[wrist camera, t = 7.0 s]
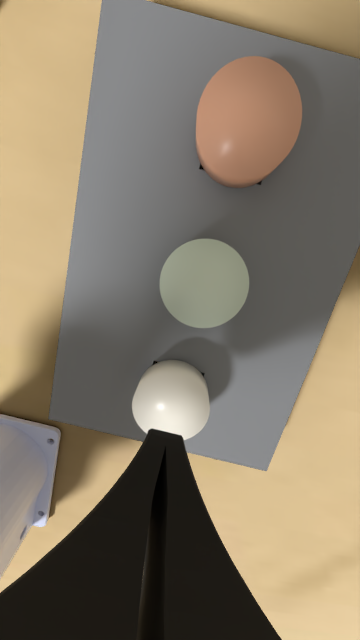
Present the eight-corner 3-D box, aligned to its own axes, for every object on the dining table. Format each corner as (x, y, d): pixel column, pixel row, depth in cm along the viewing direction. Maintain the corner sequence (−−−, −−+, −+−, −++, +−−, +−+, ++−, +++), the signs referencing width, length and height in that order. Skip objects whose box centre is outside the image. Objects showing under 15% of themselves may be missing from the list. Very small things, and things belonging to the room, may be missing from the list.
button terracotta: (258, 205, 14) (281, 189, 10) (186, 187, 14) (185, 164, 10) (283, 122, 13) (318, 71, 9) (206, 101, 13) (212, 42, 9)
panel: (256, 442, 18) (266, 471, 16) (67, 397, 18) (48, 419, 16) (384, 110, 13) (428, 78, 11) (120, 39, 13) (103, -12, 10)
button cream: (196, 409, 17) (198, 449, 14) (138, 395, 17) (125, 431, 13) (213, 355, 16) (219, 383, 13) (151, 340, 16) (140, 364, 12)
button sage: (224, 318, 15) (234, 337, 12) (160, 302, 15) (151, 316, 12) (244, 252, 14) (261, 251, 11) (175, 234, 14) (170, 228, 11)
